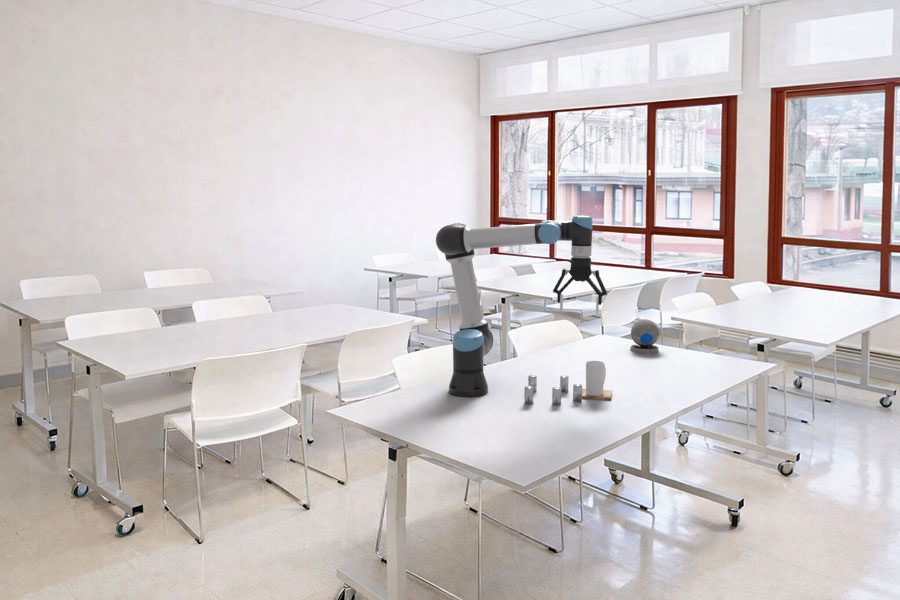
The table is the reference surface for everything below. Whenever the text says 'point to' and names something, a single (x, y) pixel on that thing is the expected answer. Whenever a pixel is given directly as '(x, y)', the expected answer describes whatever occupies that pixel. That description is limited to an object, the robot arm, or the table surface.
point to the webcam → (644, 336)
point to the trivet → (606, 396)
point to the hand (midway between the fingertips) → (579, 312)
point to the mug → (595, 377)
